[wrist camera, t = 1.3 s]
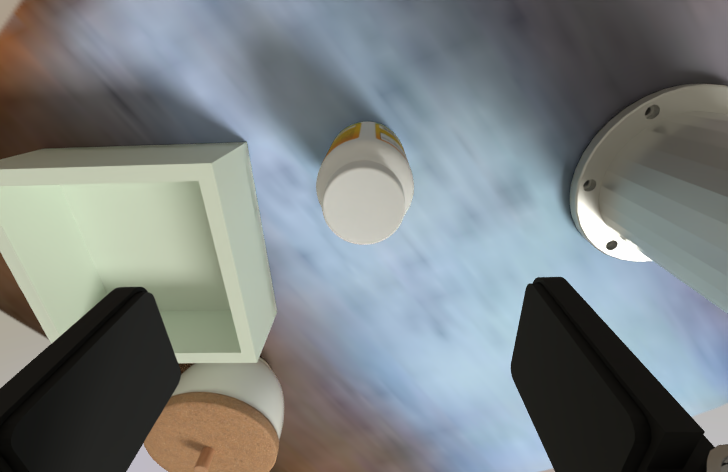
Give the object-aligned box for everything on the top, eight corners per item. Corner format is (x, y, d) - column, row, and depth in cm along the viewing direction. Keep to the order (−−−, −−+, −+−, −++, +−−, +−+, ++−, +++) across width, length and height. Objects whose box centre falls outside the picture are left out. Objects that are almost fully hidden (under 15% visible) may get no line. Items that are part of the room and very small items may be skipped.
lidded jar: (262, 423, 38) (231, 524, 30) (170, 379, 36) (107, 476, 27) (316, 366, 34) (297, 463, 26) (217, 312, 32) (160, 401, 23)
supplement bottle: (329, 192, 26) (307, 255, 18) (330, 118, 24) (305, 147, 15) (400, 196, 27) (413, 261, 18) (408, 122, 24) (428, 155, 15)
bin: (246, 142, 25) (211, 163, 20) (277, 311, 32) (257, 362, 26) (43, 148, 26) (-45, 170, 20) (114, 313, 32) (62, 363, 27)
